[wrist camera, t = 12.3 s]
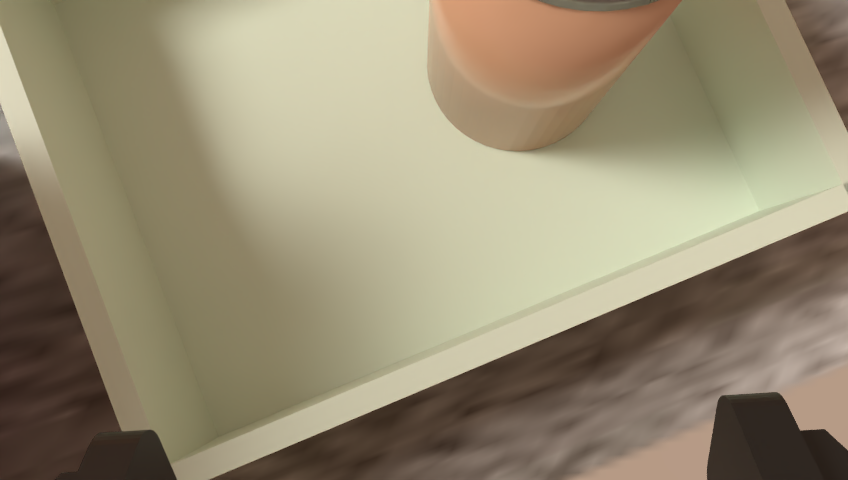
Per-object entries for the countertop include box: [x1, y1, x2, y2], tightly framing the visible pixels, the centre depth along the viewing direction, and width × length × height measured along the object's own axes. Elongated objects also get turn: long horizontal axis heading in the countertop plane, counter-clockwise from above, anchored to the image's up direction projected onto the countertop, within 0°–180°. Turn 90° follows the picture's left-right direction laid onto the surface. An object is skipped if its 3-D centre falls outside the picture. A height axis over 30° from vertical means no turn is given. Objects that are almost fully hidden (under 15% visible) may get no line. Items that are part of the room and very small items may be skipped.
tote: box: [0, 0, 848, 480], centre depth 20 cm, size 17×14×5 cm
